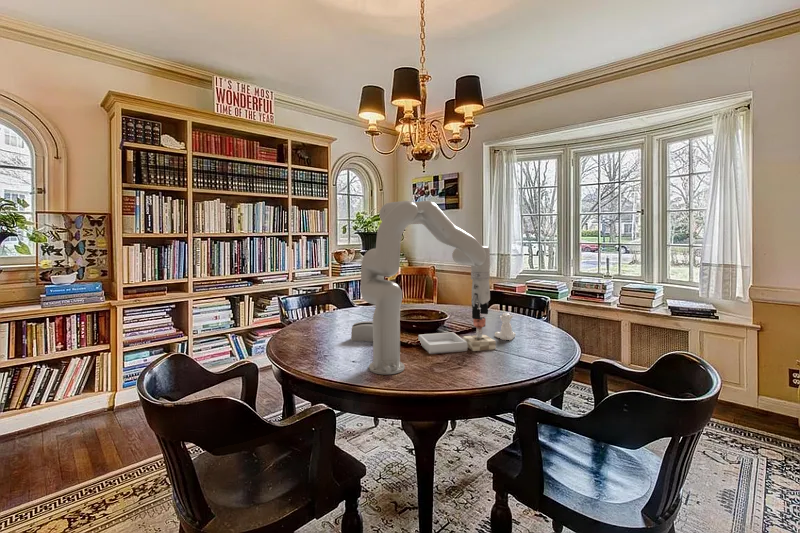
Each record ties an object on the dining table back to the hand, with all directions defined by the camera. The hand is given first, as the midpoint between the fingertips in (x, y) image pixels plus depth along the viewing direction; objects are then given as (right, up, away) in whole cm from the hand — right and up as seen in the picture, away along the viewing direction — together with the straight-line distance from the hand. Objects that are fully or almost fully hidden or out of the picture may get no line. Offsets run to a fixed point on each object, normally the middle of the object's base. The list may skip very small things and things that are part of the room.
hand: (480, 316), depth 166 cm
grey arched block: (-47, -13, +11) cm, 50 cm away
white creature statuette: (+14, -12, +13) cm, 23 cm away
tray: (-16, -13, +1) cm, 20 cm away
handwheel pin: (0, -13, +1) cm, 13 cm away
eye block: (0, -13, +1) cm, 13 cm away
